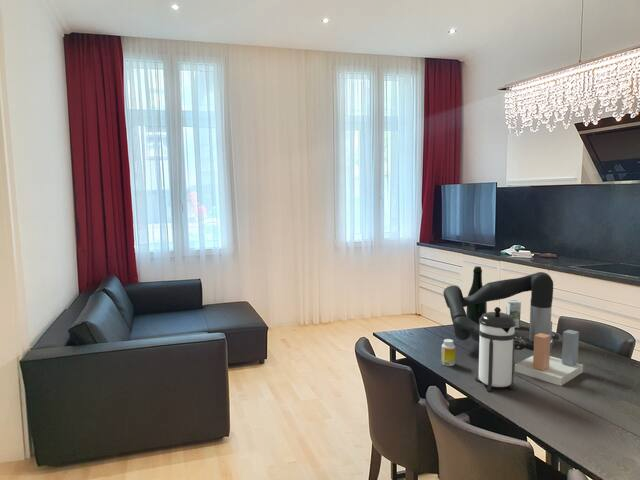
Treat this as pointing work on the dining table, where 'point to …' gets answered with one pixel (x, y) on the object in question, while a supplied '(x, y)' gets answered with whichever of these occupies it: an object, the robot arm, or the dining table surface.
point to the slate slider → (570, 347)
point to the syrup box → (514, 310)
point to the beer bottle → (477, 309)
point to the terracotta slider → (541, 351)
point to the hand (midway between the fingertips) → (536, 348)
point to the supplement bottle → (448, 353)
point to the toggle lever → (554, 339)
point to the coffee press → (496, 349)
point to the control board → (550, 370)
